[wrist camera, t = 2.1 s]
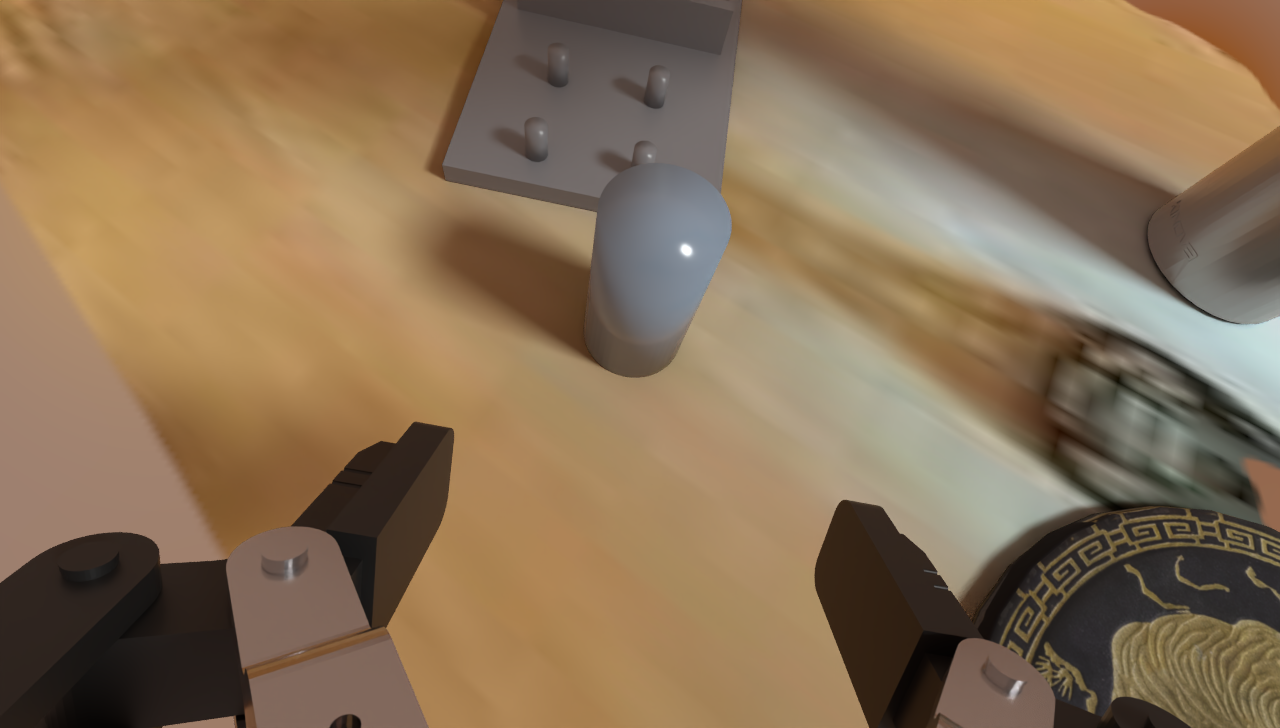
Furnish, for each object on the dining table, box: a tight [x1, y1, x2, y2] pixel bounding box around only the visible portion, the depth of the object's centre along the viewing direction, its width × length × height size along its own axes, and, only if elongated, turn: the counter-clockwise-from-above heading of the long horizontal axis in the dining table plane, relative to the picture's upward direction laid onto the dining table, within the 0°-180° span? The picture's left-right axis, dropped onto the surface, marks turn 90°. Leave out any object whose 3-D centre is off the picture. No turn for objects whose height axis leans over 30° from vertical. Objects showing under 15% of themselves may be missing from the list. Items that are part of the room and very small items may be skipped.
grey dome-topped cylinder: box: [584, 163, 731, 377], centre depth 26 cm, size 5×5×10 cm
